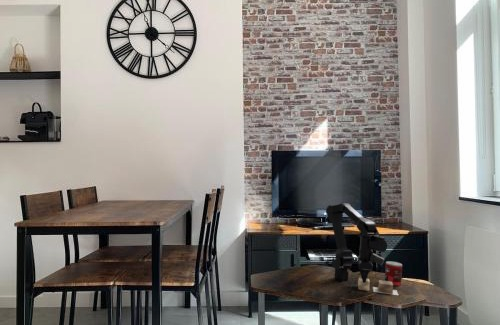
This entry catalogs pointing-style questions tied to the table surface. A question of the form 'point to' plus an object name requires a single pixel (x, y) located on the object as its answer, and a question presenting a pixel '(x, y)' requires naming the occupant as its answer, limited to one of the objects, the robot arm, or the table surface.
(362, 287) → the oak cube
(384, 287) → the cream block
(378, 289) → the build mat
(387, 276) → the canned food
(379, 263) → the robot arm
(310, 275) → the table surface
